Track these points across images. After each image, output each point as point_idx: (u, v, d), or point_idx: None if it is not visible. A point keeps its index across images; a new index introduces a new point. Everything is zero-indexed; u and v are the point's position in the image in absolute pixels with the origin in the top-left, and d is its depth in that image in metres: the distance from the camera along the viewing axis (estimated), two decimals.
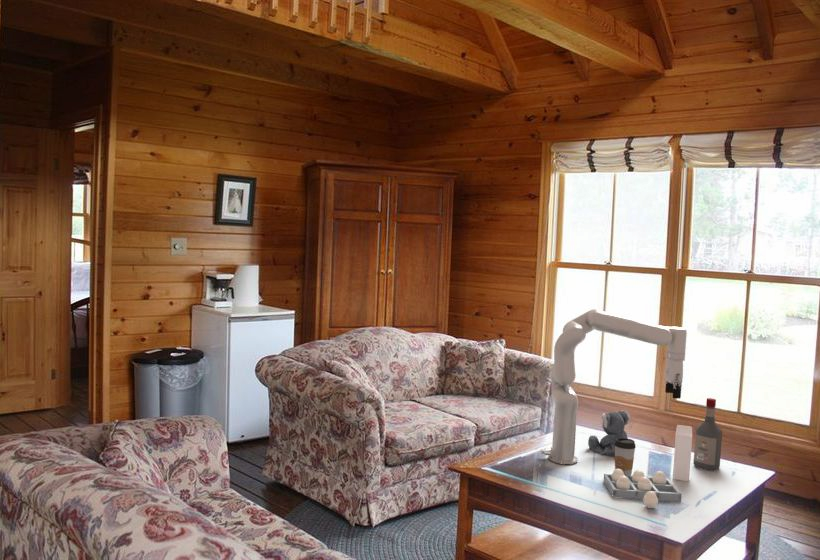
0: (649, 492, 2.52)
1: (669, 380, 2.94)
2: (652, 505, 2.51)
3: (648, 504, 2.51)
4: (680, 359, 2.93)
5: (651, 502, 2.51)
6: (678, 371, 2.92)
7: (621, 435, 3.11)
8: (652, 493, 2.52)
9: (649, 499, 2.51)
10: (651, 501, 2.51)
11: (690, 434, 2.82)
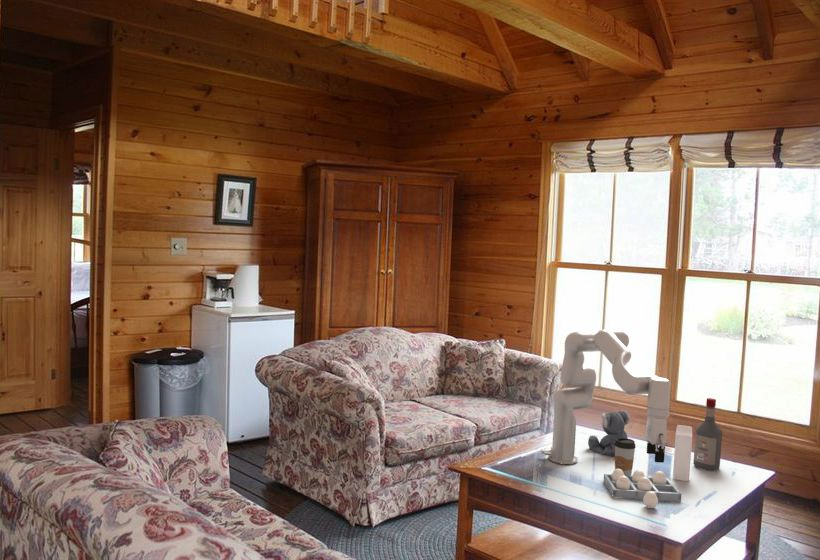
0: (649, 492, 2.52)
1: (651, 441, 2.51)
2: (652, 505, 2.51)
3: (648, 504, 2.51)
4: (663, 416, 2.50)
5: (651, 502, 2.51)
6: (661, 430, 2.49)
7: (621, 435, 3.11)
8: (652, 493, 2.52)
9: (649, 499, 2.51)
10: (651, 501, 2.51)
11: (690, 434, 2.82)
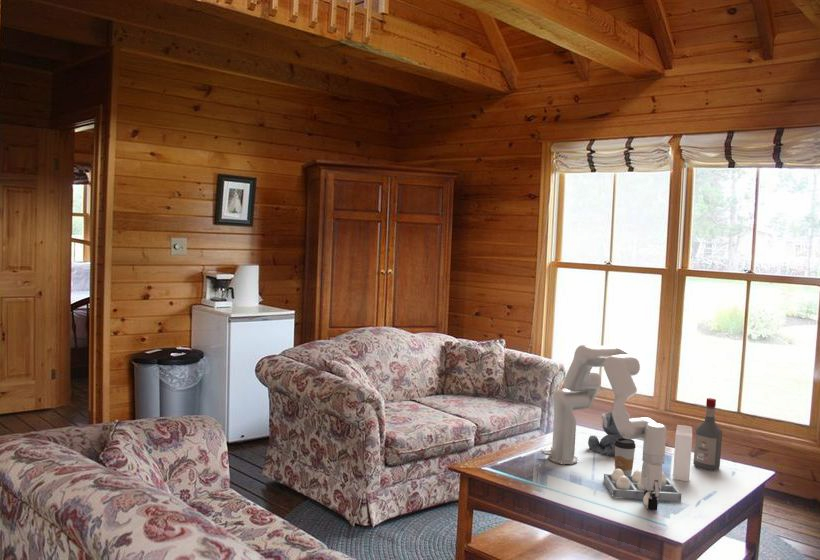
0: None
1: (646, 487, 2.50)
2: None
3: None
4: (659, 463, 2.48)
5: None
6: (656, 477, 2.47)
7: None
8: (652, 493, 2.52)
9: None
10: None
11: (690, 434, 2.82)
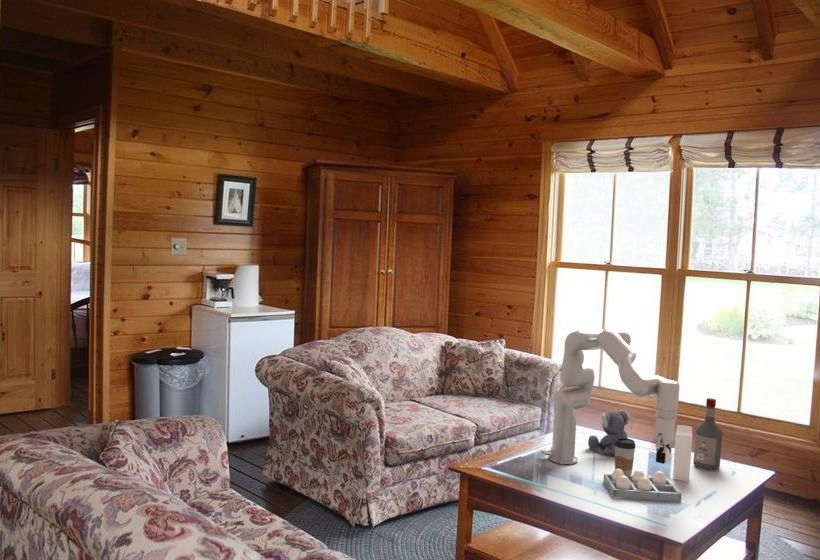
0: None
1: None
2: None
3: None
4: (665, 417, 2.55)
5: None
6: (660, 430, 2.55)
7: (621, 435, 3.11)
8: None
9: None
10: None
11: (690, 434, 2.82)
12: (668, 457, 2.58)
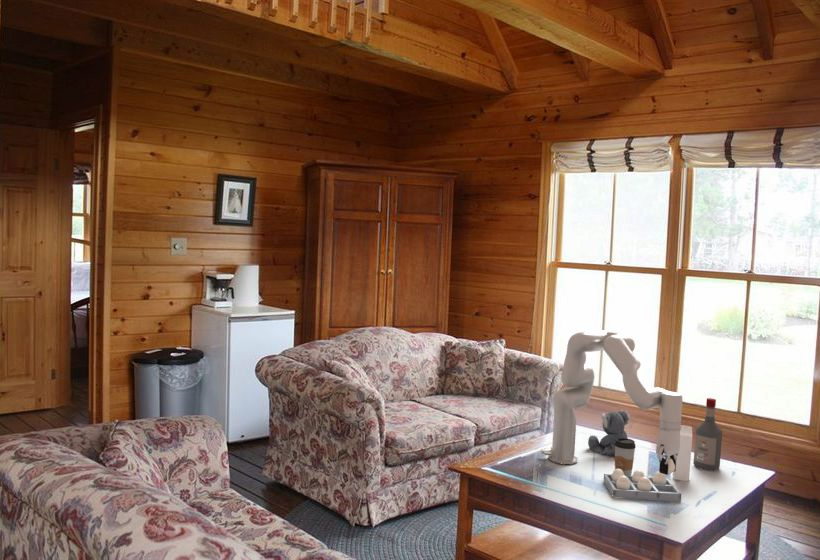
0: None
1: None
2: None
3: None
4: (667, 429, 2.60)
5: None
6: (662, 442, 2.60)
7: (621, 435, 3.11)
8: None
9: None
10: None
11: (690, 434, 2.82)
12: (671, 468, 2.61)
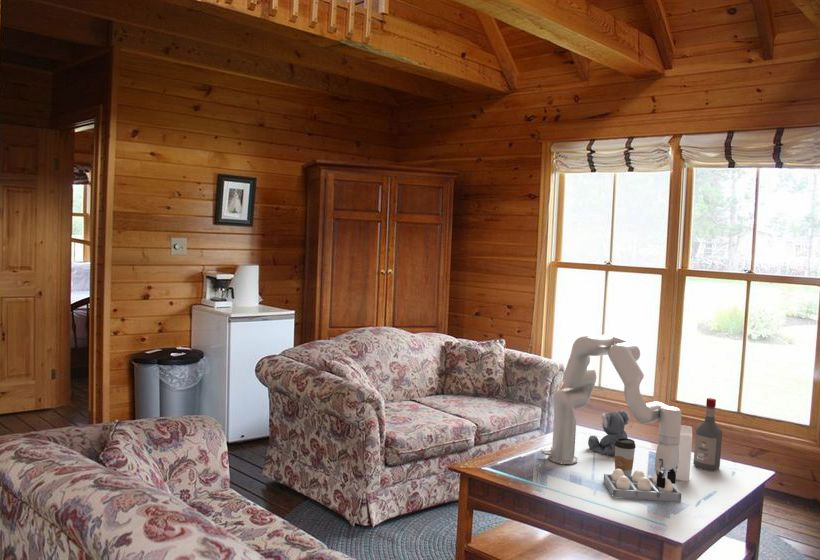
0: None
1: None
2: (662, 490, 2.63)
3: (659, 489, 2.64)
4: (666, 443, 2.60)
5: None
6: (661, 456, 2.60)
7: (621, 435, 3.11)
8: (665, 480, 2.63)
9: None
10: None
11: (690, 434, 2.82)
12: (669, 489, 2.62)
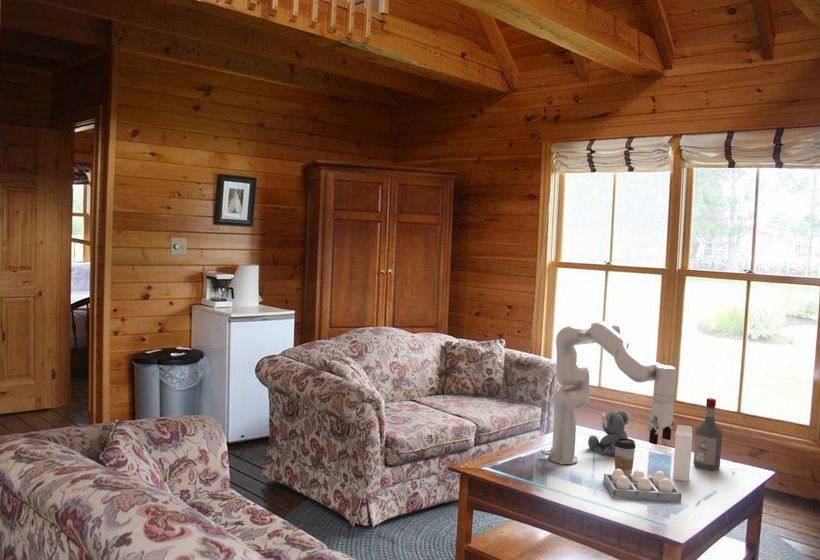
0: (664, 478, 2.64)
1: None
2: (662, 490, 2.63)
3: (659, 489, 2.64)
4: (661, 401, 2.63)
5: (661, 487, 2.63)
6: (655, 414, 2.63)
7: (621, 435, 3.11)
8: (665, 480, 2.63)
9: (660, 485, 2.64)
10: (661, 486, 2.63)
11: (690, 434, 2.82)
12: (669, 489, 2.62)
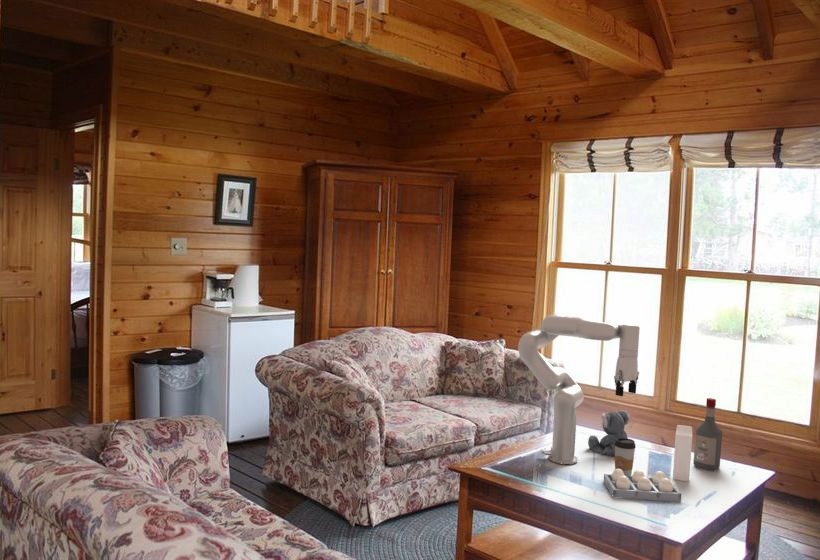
0: (664, 478, 2.64)
1: None
2: (662, 490, 2.63)
3: (659, 489, 2.64)
4: (625, 356, 2.83)
5: (661, 487, 2.63)
6: (621, 368, 2.83)
7: (621, 435, 3.11)
8: (665, 480, 2.63)
9: (660, 485, 2.64)
10: (661, 486, 2.63)
11: (690, 434, 2.82)
12: (669, 489, 2.62)
